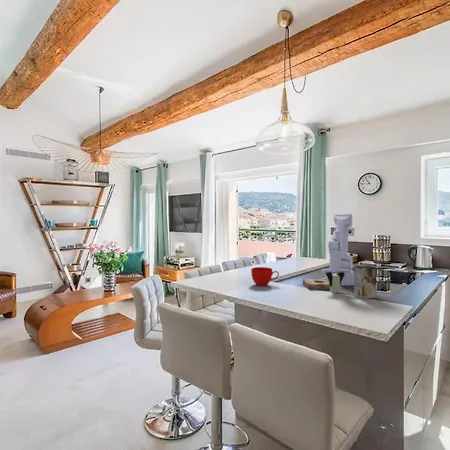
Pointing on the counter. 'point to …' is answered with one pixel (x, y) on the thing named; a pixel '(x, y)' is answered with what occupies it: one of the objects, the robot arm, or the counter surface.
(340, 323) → the counter surface
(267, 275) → the ceramic cup
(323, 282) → the socket block
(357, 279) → the coffee box
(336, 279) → the peg
